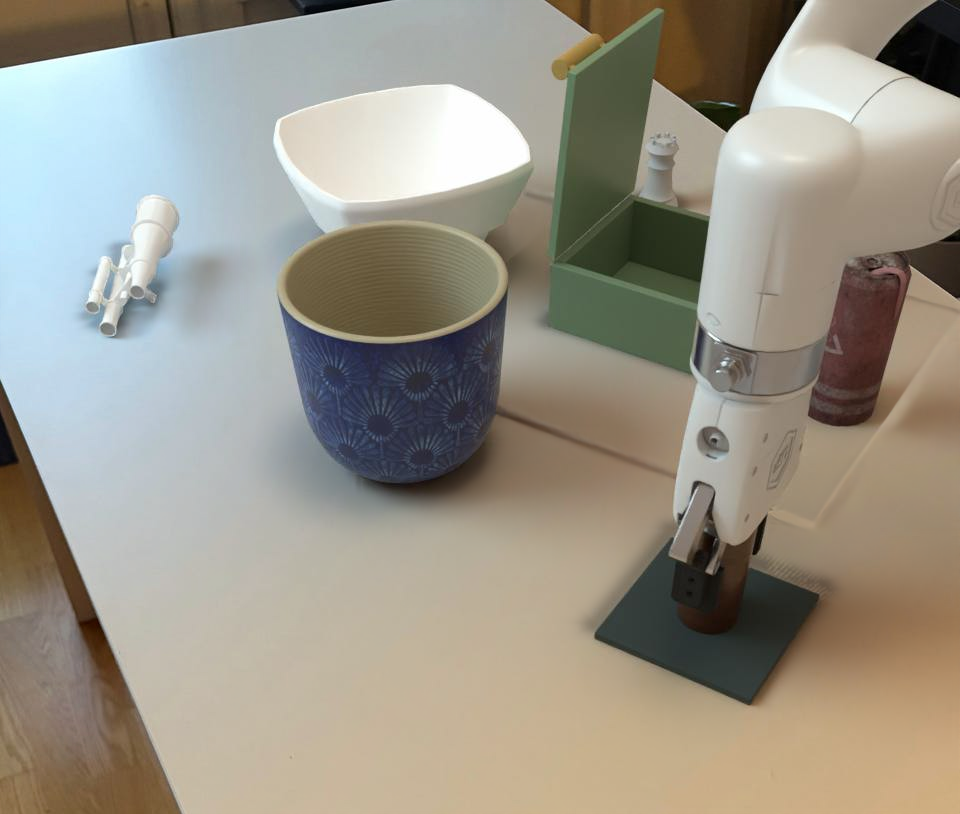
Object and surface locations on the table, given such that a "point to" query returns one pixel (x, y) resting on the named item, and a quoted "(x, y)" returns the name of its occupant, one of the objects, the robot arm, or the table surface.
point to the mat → (709, 657)
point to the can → (860, 338)
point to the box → (634, 281)
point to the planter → (396, 344)
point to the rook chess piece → (660, 169)
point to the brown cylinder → (722, 588)
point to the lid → (601, 126)
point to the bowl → (405, 159)
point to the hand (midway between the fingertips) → (715, 573)
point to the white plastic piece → (135, 261)
